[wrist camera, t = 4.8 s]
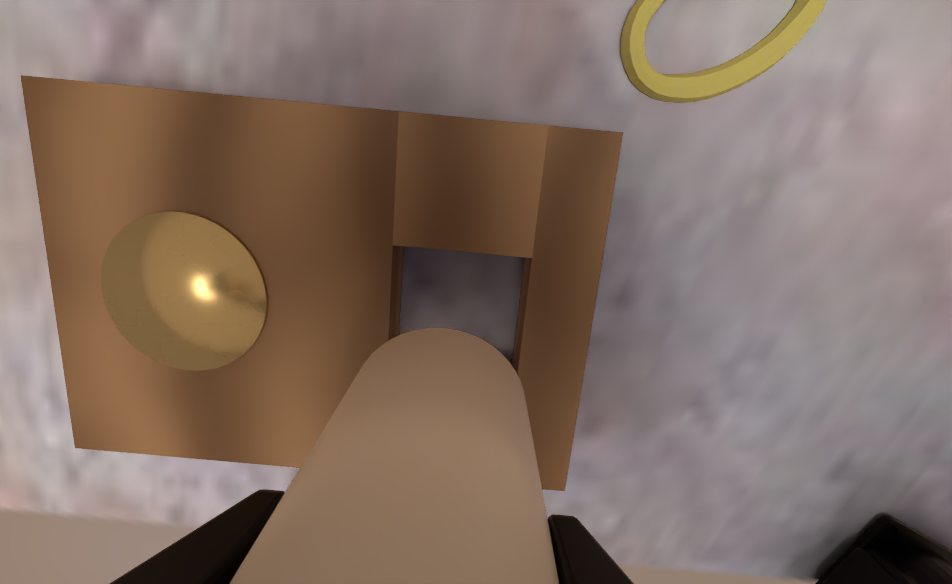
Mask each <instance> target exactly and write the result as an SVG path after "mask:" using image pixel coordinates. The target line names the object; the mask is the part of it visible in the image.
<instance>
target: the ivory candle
mask: <svg viewBox="0 0 952 584" xmlns="http://www.w3.org/2000/svg"><path fill="white" fill-rule="evenodd" d="M230 584H559V580H558V574H557V569H556V563H555V558H554V553H553V547H552V542H551V536H550V531H549V525H548V520H547V514H546V509H545V503H544V498H543V492H542V487H541V481H540V476H539V470H538V465H537V459H536V454H535V449H534V443H533V438H532V432H531V427H530V421H529V416H528V410H527V405H526V399H525V394H524V390H523V387H522V384H521V381H520V379H519V377H518V375H517V373H516V371H515V369H514V368H513V367H512V365H511V364H510V362H509V361H508V360H507V359H506V358H505V357H504V356H503V354H502V353H500V352H499V351H498V350H497V349H496V348H495V347H493V346H492V345H490V344H489V343H487V342H486V341H484V340H482V339H480V338H478V337H476V336H474V335H472V334H469V333H466V332H463V331H459V330H454V329H449V328H424V329H418V330H413V331H410V332H407V333H404V334H401V335H399V336H397V337H394V338H392V339H391V340H389V341H387V342H386V343H384V344H383V345H381V346H380V347H379V348H378V349H377V350H375V351H374V352H373V353H372V354H371V356H370V357H369V358H368V359H367V360H366V361H365V363H364V364H363V366H362V367H361V369H360V371H359V372H358V374H357V375H356V377H355V379H354V380H353V382H352V384H351V385H350V387H349V389H348V390H347V392H346V393H345V395H344V397H343V398H342V400H341V402H340V403H339V405H338V407H337V408H336V410H335V411H334V413H333V415H332V416H331V418H330V420H329V421H328V423H327V425H326V426H325V428H324V430H323V431H322V433H321V434H320V436H319V438H318V439H317V441H316V443H315V444H314V446H313V448H312V449H311V451H310V452H309V454H308V456H307V457H306V459H305V461H304V462H303V464H302V466H301V467H300V469H299V470H298V472H297V474H296V475H295V477H294V479H293V480H292V482H291V484H290V485H289V487H288V488H287V490H286V492H285V493H284V495H283V497H282V498H281V500H280V502H279V503H278V505H277V507H276V508H275V510H274V511H273V513H272V515H271V516H270V518H269V520H268V521H267V523H266V525H265V526H264V528H263V529H262V531H261V533H260V534H259V536H258V538H257V539H256V541H255V543H254V544H253V546H252V547H251V549H250V551H249V552H248V554H247V556H246V557H245V559H244V561H243V562H242V564H241V565H240V567H239V569H238V570H237V572H236V574H235V575H234V577H233V579H232V580H231V582H230Z"/></svg>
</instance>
